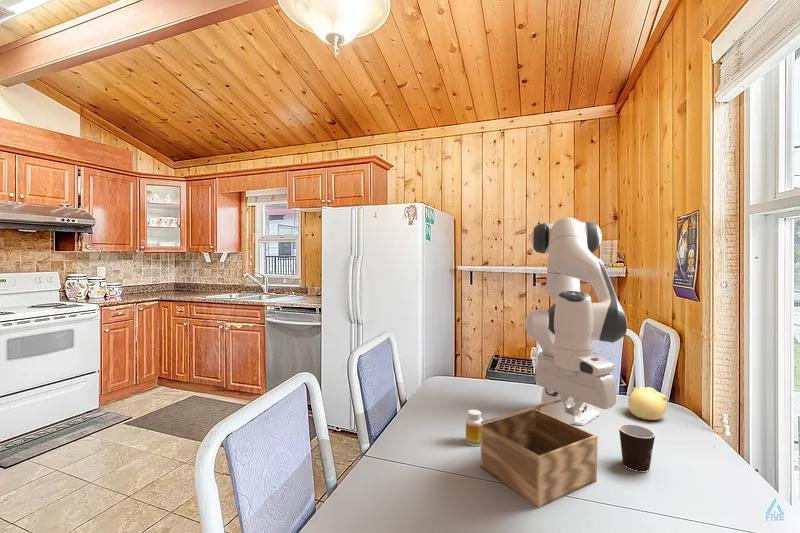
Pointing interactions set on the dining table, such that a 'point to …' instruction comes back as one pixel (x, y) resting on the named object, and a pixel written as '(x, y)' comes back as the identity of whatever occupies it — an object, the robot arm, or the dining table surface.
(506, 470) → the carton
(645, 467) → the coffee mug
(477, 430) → the supplement bottle
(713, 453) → the dining table surface
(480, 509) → the dining table surface
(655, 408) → the sculpture
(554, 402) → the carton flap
